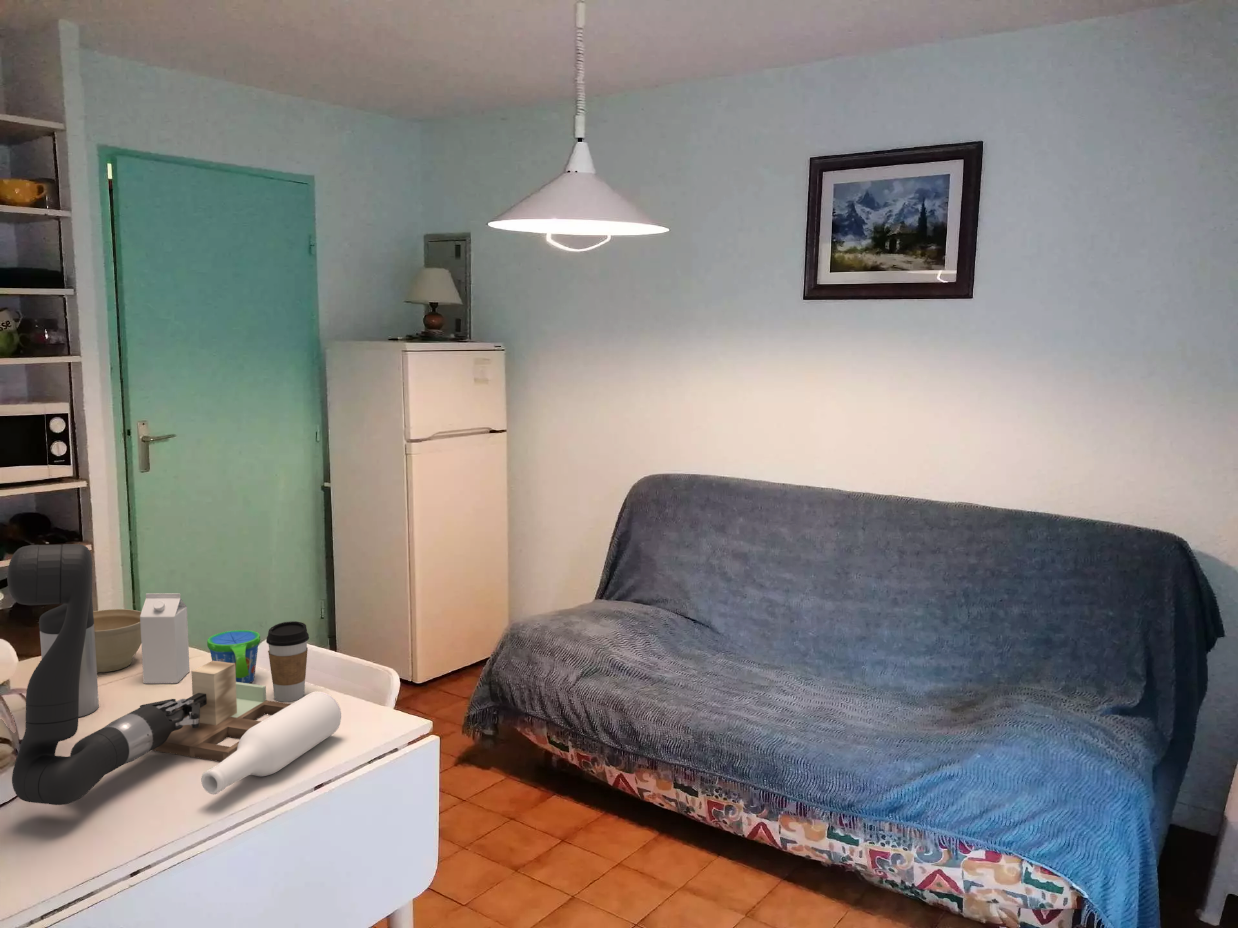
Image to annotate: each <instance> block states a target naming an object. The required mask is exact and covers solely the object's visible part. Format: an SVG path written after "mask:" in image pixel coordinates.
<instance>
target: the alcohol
mask: <svg viewBox="0 0 1238 928" xmlns="http://www.w3.org/2000/svg"><path fill="white" fill-rule="evenodd" d="M337 701H338V700H336V698H334V697H333V696H332V695H331V694H329V693H326V692H323V691H312V692H310V693H308V694H306V695H304V696H303V697H302V698H301V699H299V700H296V701H293V703H290V704H291V705H289V706H287V707H286V708H284V709H282V710H281V711H279V712H277V713H275V714H274V715H269V716H268V717H267V718H265V719H264V720H262V722H260V723H258V724H257V725H255V726H253V727H251V728H250V729H248V730H247V731H246V732H245V734H244V735H243V736H242V737H241V739H239V741H238V742H239V743H238V747H237V751H235V752H234V753H233V754H231V755H230V756H229V757H227V758H226V759H225V760H223V761H222V762H219V763H218V764H216V765H215V766H212V767H211V768H209V769H207V770H206V771H204V772H203V773H202V775H201V777H200V778H201V779H200V780H201V782H200V783H201V786H202V788H203V790H204V791H205V792H207V793H208V794H210V795H217V794H219V793H220V792H222V791H224V790H225V789H226V788H227V787H229V786H231V785H234V784H235V783H237V782H239V781H241V780H243V779H244V778H246V777H249V776H250V775H252V776H257V777H266V776H269V775H273V774H275V773H277V772H279V771H280V770H282V769H283V768H285V767H286V766H287V765H289V764H291V763H292V762H293V761H295V760H296V759H298V758H300V757H301V756H303V755H304V754H306V753H307V752H308V751H310V750H312V749H313V748H314V747H316V746H318V744H321V743H322V742H323V741H324V740H326V739H328V738H329V737H331V736H332V735H333V734H335V733H336V732H337V731H338V730H339V728H340V725H341V720H342V711H341V707H340V705H339V703H338V702H337Z"/></svg>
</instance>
